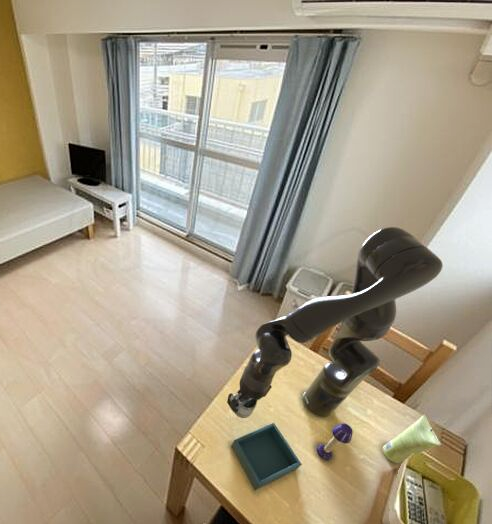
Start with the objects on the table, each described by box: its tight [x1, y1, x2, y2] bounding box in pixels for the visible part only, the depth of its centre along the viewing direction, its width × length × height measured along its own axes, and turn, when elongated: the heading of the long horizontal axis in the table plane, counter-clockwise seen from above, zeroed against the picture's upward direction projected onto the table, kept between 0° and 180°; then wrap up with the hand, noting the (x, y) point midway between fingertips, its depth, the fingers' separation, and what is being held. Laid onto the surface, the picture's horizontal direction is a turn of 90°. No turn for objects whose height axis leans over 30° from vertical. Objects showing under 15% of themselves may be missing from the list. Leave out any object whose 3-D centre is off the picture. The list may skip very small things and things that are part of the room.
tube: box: [382, 414, 442, 464], centre depth 85 cm, size 6×5×20 cm
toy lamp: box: [316, 422, 354, 461], centre depth 86 cm, size 5×5×17 cm
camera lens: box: [234, 399, 258, 419], centre depth 93 cm, size 6×6×8 cm
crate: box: [230, 422, 303, 492], centre depth 88 cm, size 15×12×5 cm
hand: (243, 405), depth 94 cm, fingers closed on camera lens, 6 cm apart
